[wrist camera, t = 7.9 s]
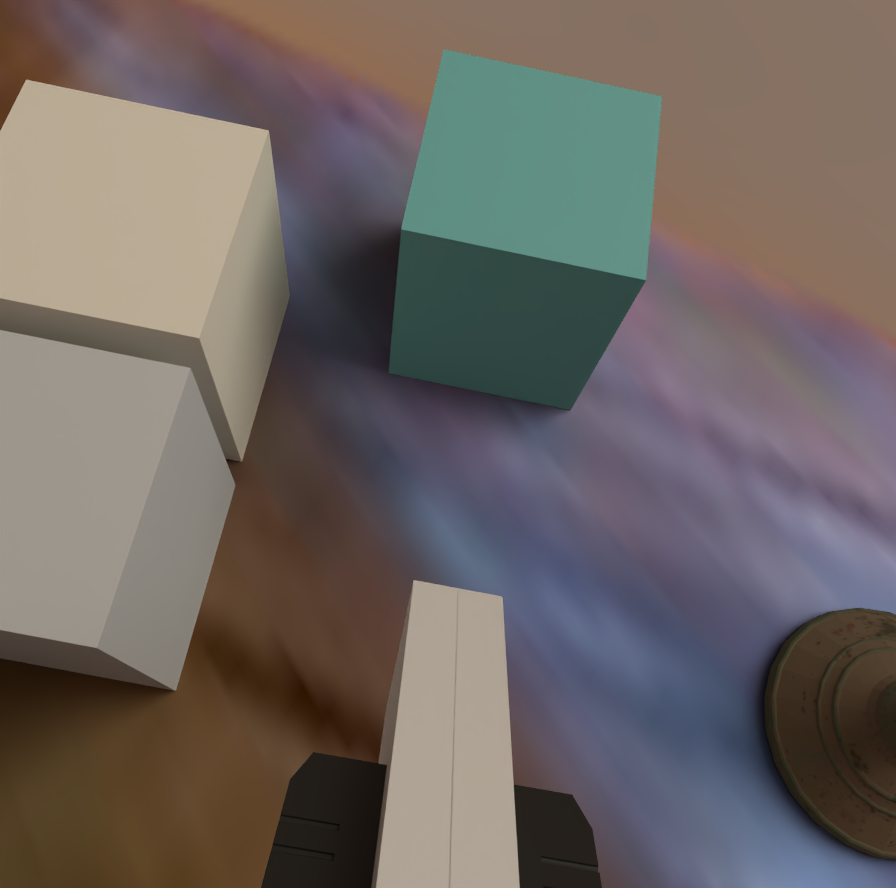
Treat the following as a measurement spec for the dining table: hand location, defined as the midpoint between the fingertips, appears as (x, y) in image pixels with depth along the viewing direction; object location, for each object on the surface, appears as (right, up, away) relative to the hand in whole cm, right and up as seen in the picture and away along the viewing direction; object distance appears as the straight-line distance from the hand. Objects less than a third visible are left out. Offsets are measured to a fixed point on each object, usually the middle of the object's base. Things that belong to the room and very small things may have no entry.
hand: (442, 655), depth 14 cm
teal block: (+2, +9, +23) cm, 25 cm away
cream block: (-11, +7, +21) cm, 25 cm away
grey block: (-13, -1, +17) cm, 21 cm away
